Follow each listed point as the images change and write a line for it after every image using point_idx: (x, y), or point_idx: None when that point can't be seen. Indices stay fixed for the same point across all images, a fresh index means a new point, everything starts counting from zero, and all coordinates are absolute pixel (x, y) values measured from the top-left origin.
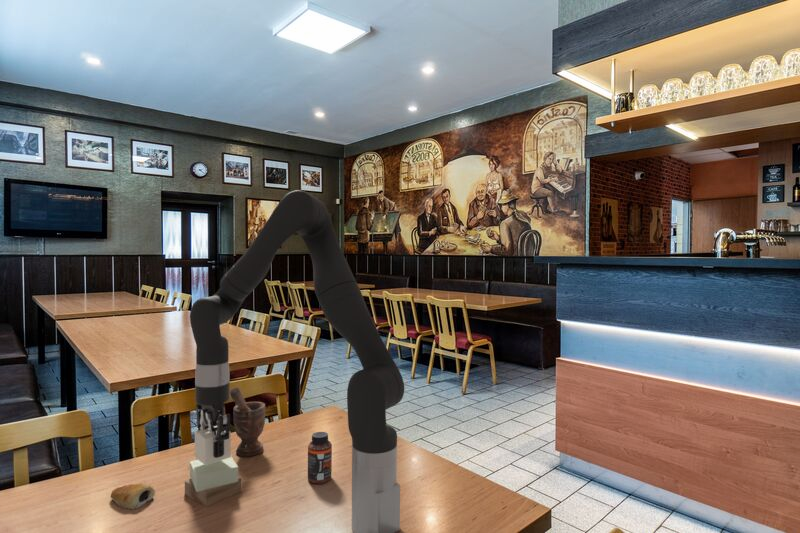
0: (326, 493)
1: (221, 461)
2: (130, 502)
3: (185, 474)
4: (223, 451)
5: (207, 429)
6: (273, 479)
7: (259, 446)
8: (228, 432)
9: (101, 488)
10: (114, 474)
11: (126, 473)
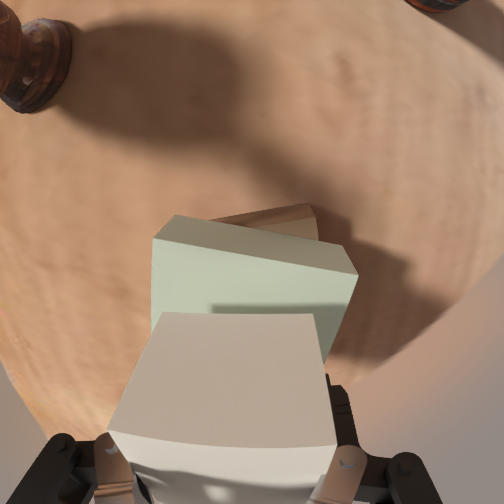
0: (497, 40)
1: (237, 307)
2: None
3: (81, 291)
4: (347, 397)
5: (160, 483)
6: (314, 69)
7: (50, 31)
8: (432, 492)
9: (85, 411)
10: (36, 378)
11: (37, 366)
